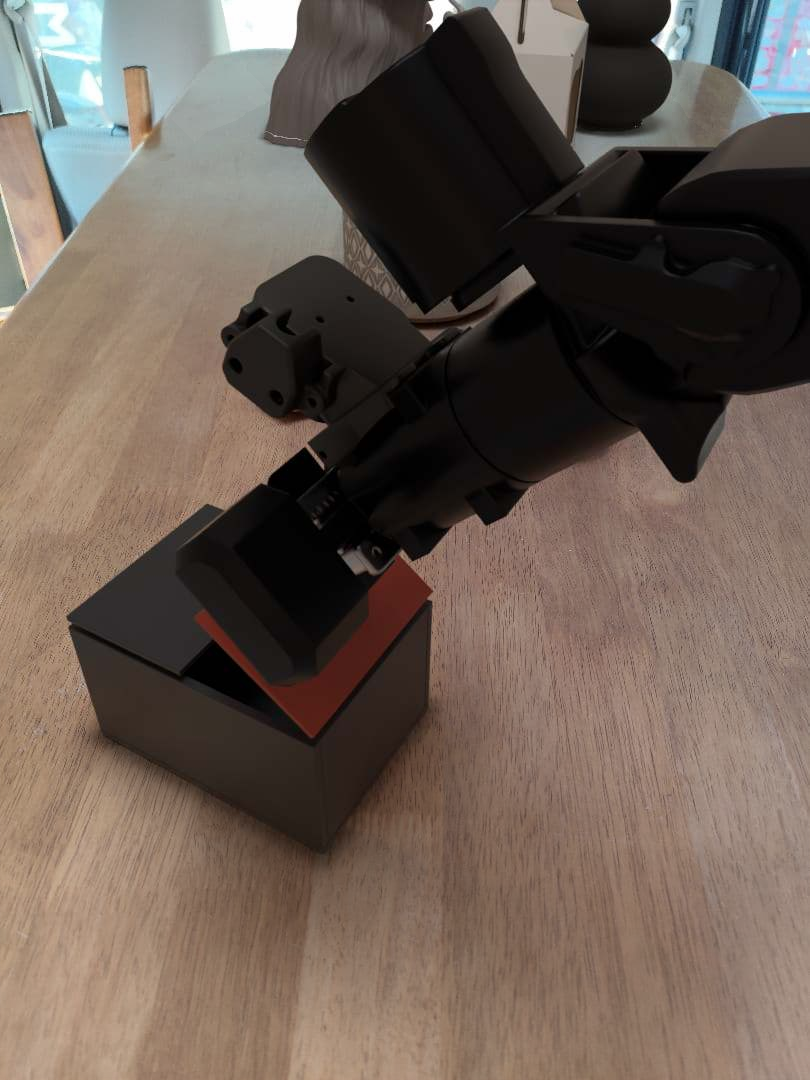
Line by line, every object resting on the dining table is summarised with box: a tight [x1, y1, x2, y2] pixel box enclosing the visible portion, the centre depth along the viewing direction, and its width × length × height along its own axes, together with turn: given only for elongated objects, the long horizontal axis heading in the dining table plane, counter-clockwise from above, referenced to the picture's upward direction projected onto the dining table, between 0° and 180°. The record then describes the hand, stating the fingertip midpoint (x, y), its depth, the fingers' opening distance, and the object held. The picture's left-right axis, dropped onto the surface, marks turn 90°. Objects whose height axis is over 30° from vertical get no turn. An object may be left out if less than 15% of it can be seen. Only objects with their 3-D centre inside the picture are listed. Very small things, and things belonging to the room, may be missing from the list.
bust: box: [263, 0, 466, 148], centre depth 136 cm, size 34×34×35 cm
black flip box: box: [65, 503, 433, 855], centre depth 49 cm, size 15×11×9 cm
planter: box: [341, 208, 501, 324], centre depth 92 cm, size 16×16×13 cm
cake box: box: [490, 0, 589, 150], centre depth 121 cm, size 22×13×28 cm, turn 166°
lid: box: [194, 553, 434, 738], centre depth 43 cm, size 7×11×1 cm
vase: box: [577, 0, 673, 133], centre depth 138 cm, size 18×18×35 cm
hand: (274, 547), depth 42 cm, fingers closed, pressing on lid
